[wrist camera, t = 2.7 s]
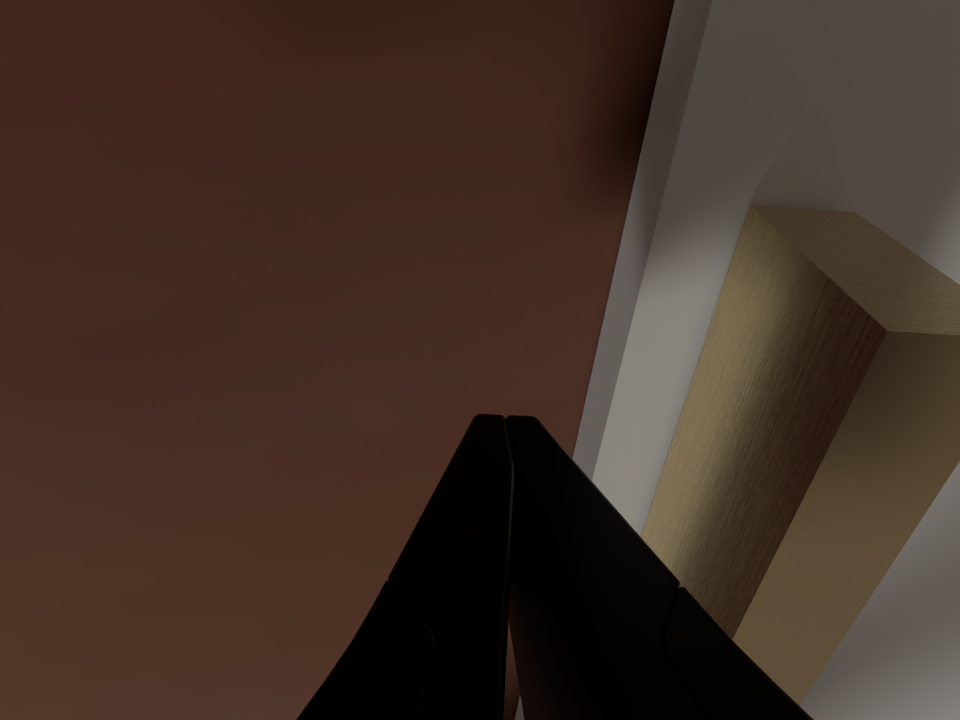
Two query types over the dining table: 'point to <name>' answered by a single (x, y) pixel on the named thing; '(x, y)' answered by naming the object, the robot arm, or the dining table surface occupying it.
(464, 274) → the dining table surface
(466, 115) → the dining table surface
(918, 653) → the base
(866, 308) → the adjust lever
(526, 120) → the dining table surface
